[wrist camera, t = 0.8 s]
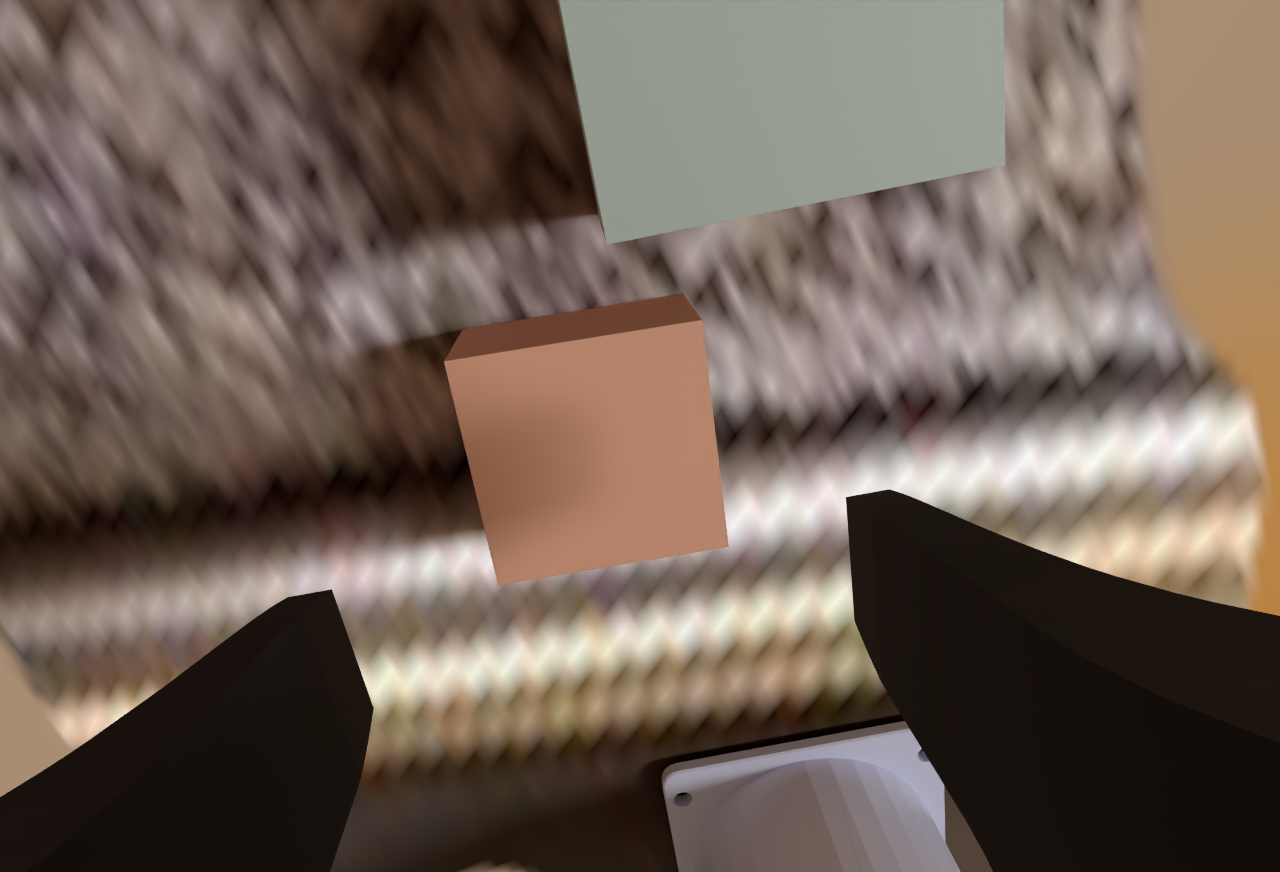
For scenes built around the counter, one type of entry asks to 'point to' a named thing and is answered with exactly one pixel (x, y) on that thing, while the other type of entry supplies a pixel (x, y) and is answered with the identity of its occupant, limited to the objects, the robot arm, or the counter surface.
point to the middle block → (778, 102)
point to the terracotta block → (590, 437)
